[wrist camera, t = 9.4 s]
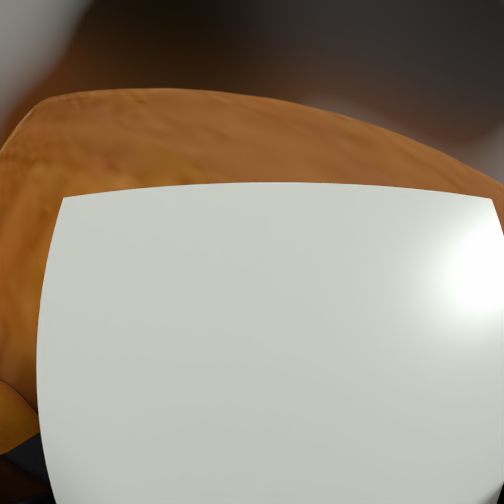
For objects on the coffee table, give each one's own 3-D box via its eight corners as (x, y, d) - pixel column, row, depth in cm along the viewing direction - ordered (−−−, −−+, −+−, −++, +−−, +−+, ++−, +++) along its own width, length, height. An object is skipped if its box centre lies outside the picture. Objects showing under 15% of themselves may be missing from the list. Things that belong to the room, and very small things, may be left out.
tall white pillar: (330, 432, 12) (474, 550, 1) (205, 435, 12) (90, 581, 1) (328, 315, 14) (491, 199, 3) (205, 317, 14) (63, 198, 3)
